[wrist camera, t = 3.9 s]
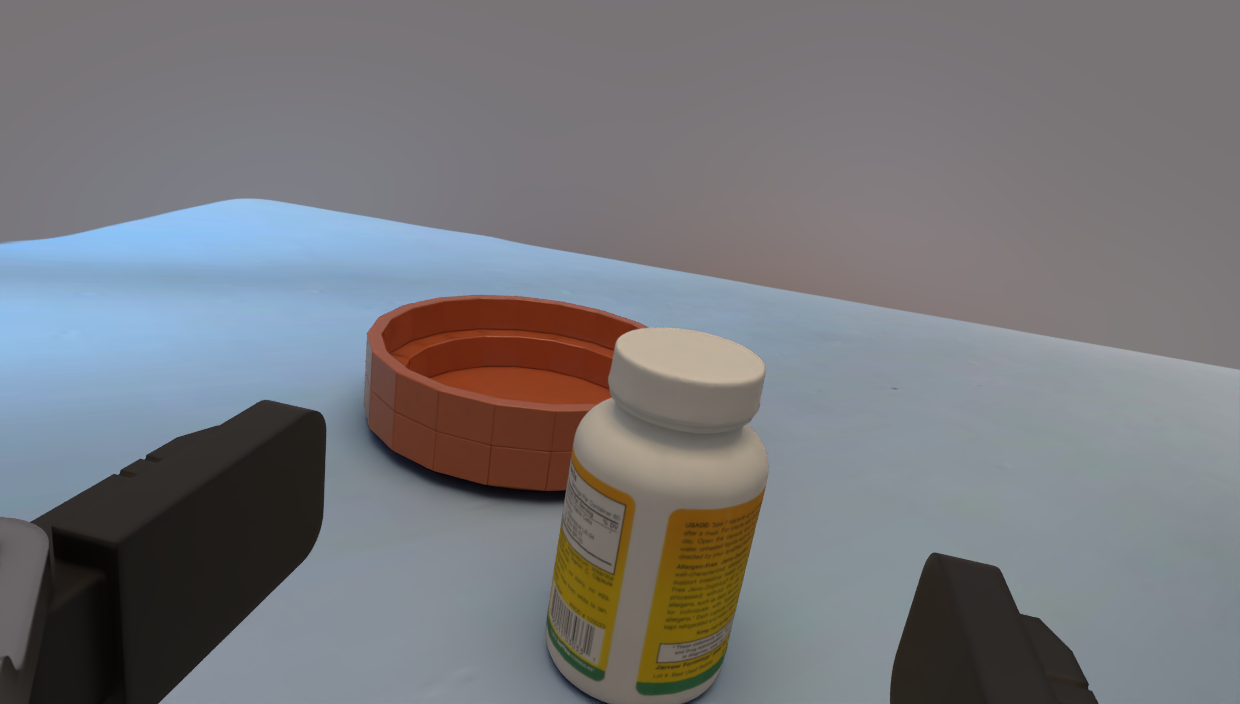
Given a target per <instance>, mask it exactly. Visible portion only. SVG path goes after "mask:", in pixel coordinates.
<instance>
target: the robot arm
mask: <svg viewBox="0 0 1240 704" xmlns="http://www.w3.org/2000/svg"><path fill="white" fill-rule="evenodd" d="M325 454H326V423H325V420H324V417H323V415H322V414H321V413H320V412H318V411H314V410H310V409H305V408H301V407H297V406H292V405H288V404H283V403H279V402H275V401H270V400H262V401H260V402H258V403H256V404H255V405H253V406H251V407H250V408H248V409H246V410H245V411H243V412H241V413H240V414H238V415H236V416H235V417H233V418H231V419H230V420H228V421H226V422H225V423H223V424H221V425H219V426H214V427H211V428H208V429H204V430H201V431H197V432H194V433H191V434H187V435H184V436H180V437H177V438H175V439H174V440H172V441H170V442H169V443H167V444H165V445H163V446H162V447H160V448H158V449H156V450H155V451H153V452H151V453H149V454H148V455H146V459H145V460H143V459H139V460H137V461H136V462H134V463H132V464H130V465H129V466H127V467H125V468H123V469H122V470H121V471H120V474H119V475H116V474H113V475H111V476H110V477H108V478H106V479H104V480H103V481H101V482H99V483H97V484H96V485H94V486H92V487H90V488H89V489H87V490H85V491H84V492H82V493H80V494H78V495H77V496H75V497H73V498H71V499H70V500H68V501H66V502H64V503H63V504H61V505H59V506H57V507H56V508H54V509H52V510H51V511H49V512H47V513H45V514H44V515H42V516H40V517H38V518H37V519H35V520H33V521H31V522H27V521H24V520H19V519H14V518H5V517H0V704H158V703H159V702H160V701H161V700H162V699H163V698H164V697H165V696H166V695H167V694H169V693H170V692H171V691H172V690H173V689H174V688H175V687H176V686H177V685H178V684H179V683H180V682H181V681H182V680H183V679H184V678H185V677H186V676H187V675H188V674H189V673H190V672H191V671H192V670H193V669H194V668H195V667H196V666H197V665H198V664H199V663H200V662H201V661H202V660H203V659H204V658H205V657H206V656H207V655H208V654H209V653H210V652H211V651H212V650H213V649H214V648H215V647H216V646H217V645H218V644H219V643H220V642H221V641H222V640H223V639H225V638H226V637H227V636H228V635H229V634H230V633H231V632H232V631H233V630H234V629H235V628H236V627H237V626H238V625H239V624H240V623H241V622H242V621H243V620H244V619H245V618H246V617H247V616H248V615H249V614H250V613H251V612H252V611H253V610H254V609H255V608H256V607H257V606H258V605H259V604H260V603H261V602H262V601H263V600H264V599H265V598H266V597H267V596H268V595H269V594H270V593H271V592H272V591H273V590H274V589H275V588H276V587H277V586H278V585H279V584H280V583H282V582H283V581H284V580H285V579H286V578H287V577H288V576H289V575H290V574H291V573H292V572H293V571H294V570H295V569H296V568H297V567H298V566H299V565H300V564H301V563H302V562H303V561H304V560H305V559H306V557H307V556H308V555H309V553H310V552H311V550H312V548H313V547H314V544H315V542H316V540H317V538H318V535H319V532H320V529H321V525H322V520H323V509H324V482H325ZM1088 685H1089V684H1088V682H1087V680H1086V678H1085V676H1084V674H1083V672H1082V670H1081V668H1080V666H1079V664H1078V662H1077V660H1076V658H1075V656H1074V654H1073V652H1072V651H1071V650H1070V649H1069V648H1068V647H1067V646H1066V645H1065V644H1064V643H1063V642H1062V641H1061V640H1060V639H1059V638H1058V637H1057V636H1056V635H1055V634H1054V633H1053V632H1052V631H1051V630H1050V629H1049V628H1048V627H1047V626H1046V625H1045V624H1044V623H1043V622H1042V621H1041V620H1040V619H1039V618H1036V617H1031V616H1027V615H1023V614H1020V613H1019V611H1018V609H1017V606H1016V604H1015V602H1014V600H1013V597H1012V595H1011V593H1010V590H1009V588H1008V586H1007V584H1006V581H1005V579H1004V577H1003V575H1002V573H1001V571H1000V569H999V568H998V567H996V566H992V565H988V564H983V563H979V562H975V561H970V560H966V559H961V558H957V557H953V556H948V555H944V554H939V553H932V554H931V555H930V556H929V557H928V559H927V561H926V563H925V565H924V568H923V571H922V574H921V577H920V580H919V583H918V586H917V589H916V593H915V596H914V599H913V602H912V605H911V608H910V612H909V615H908V618H907V621H906V624H905V627H904V631H903V634H902V637H901V640H900V643H899V647H898V650H897V653H896V656H895V660H894V665H893V670H892V677H891V687H890V704H1098V702H1097V700H1096V698H1095V696H1094V694H1093V692H1092V691H1090V690H1088Z"/></svg>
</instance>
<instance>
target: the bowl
mask: <svg viewBox="0 0 1240 704" xmlns="http://www.w3.org/2000/svg"><path fill="white" fill-rule="evenodd" d="M642 328H649V327H647V326H645V325H643V324H641V323H639V322H636V321H633V320H630V319H627V318H624V317H621V316H618V315H615V314H612V313H609V312H606V311H601V310H598V309H594V308H589V307H585V306H580V305H576V304H571V303H566V302H561V301H554V300H546V299H538V298H530V297H521V296H520V297H519V296H497V295H469V296H455V297H441V298H434V299H430V300H425V301H420V302H416V303H411V304H407V305H403V306H401V307H399V308H397V309H395V310H392V311H390V312H388V313H386V314H384V315H382V316H380V317H378V319H377V320H376V321H375V323H374V324H373V326H372V327H371V328H370V330H369V331H368V333H367V345H366V367H365V369H366V371H365V390H364V408H365V412H366V417H367V421H368V426H369V428H370V429H371V430H372V431H373V432H374V433H375V434H376V435H377V436H378V437H379V438H380V439H381V440H382V441H383V442H384V443H385V444H386V445H387V446H388V447H389V448H390V449H391V450H393V451H394V452H396V453H398V454H400V455H402V456H404V457H406V458H408V459H410V460H412V461H414V462H416V463H418V464H420V465H422V466H424V467H426V468H428V469H430V470H432V471H435V472H439V473H443V474H447V475H450V476H454V477H458V478H461V479H465V480H469V481H472V482H476V483H480V484H484V485H490V486H496V487H503V488H510V489H519V490H532V491H560V490H566V488H567V481H568V475H569V468H570V462H571V455H572V448H573V442H574V437H575V433H576V431H577V428H578V426H579V424H580V422H581V420H582V419H583V417H584V416H585V415H586V414H587V413H588V412H589V411H590V410H591V409H592V408H593V407H595V406H596V405H598V404H599V403H601V402H603V401H605V400H607V399H609V398H612V396H611V394H610V390H609V387H610V386H609V383H608V376H609V374H610V370H611V365H612V360H613V354H614V349H615V344H616V341H617V339H618V338H619V337H620V336H621V335H623V334H625V333H627V332H630V331H632V330H637V329H642Z"/></svg>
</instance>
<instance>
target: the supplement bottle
mask: <svg viewBox="0 0 1240 704" xmlns="http://www.w3.org/2000/svg"><path fill="white" fill-rule="evenodd" d="M765 371H766V369H765V365H764V363H763V361H762V360H761V359H760V358H759V357H758V356H757V355H756V354H755V353H754V352H752V351H751V350H749V349H747V348H746V347H744V346H742V345H740V344H737V343H735V342H733V341H730V340H727V339H724V338H721V337H718V336H714V335H711V334H707V333H703V332H698V331H692V330H686V329H677V328H642V329H637V330H632V331H630V332H627V333H625V334H623V335H621V336H620V337H619V338H618V339H617V341H616V344H615V349H614V354H613V360H612V365H611V370H610V374H609V376H608V383H609V386H610V387H609V390H610V394H611V396H612V398H609V399H607V400H605V401H603V402H601V403H599V404H598V405H596V406H595V407H593V408H592V409H591V410H590V411H589V412H588V413H587V414H586V415H585V416H584V417H583V419H582V420H581V422H580V424H579V426H578V428H577V431H576V433H575V437H574V442H573V448H572V455H571V462H570V468H569V475H568V481H567V488H566V494H565V501H564V508H563V515H562V521H561V528H560V535H559V541H558V547H557V555H556V561H555V567H554V575H553V581H552V588H551V594H550V601H549V607H548V615H547V623H546V641H547V645H548V649H549V652H550V655H551V657H552V659H553V661H554V663H555V665H556V666H557V668H558V669H559V670H560V672H561V673H562V674H563V675H564V676H565V677H566V678H567V679H568V680H569V681H570V682H571V683H572V684H573V685H575V686H576V687H577V688H579V689H580V690H582V691H583V692H585V693H587V694H588V695H590V696H592V697H594V698H596V699H598V700H601V701H603V702H606V703H608V704H682V703H685V702H688V701H690V700H692V699H694V698H696V697H698V696H699V695H701V694H702V693H703V692H705V691H706V690H707V689H708V688H709V687H710V686H711V685H712V684H713V682H714V681H715V679H716V678H717V676H718V674H719V672H720V670H721V667H722V664H723V660H724V656H725V653H726V650H727V645H728V640H729V636H730V632H731V628H732V623H733V619H734V615H735V611H736V607H737V603H738V598H739V594H740V590H741V586H742V582H743V577H744V573H745V569H746V565H747V561H748V557H749V553H750V549H751V544H752V540H753V536H754V532H755V527H756V524H757V520H758V516H759V512H760V508H761V504H762V500H763V496H764V492H765V488H766V482H767V477H768V458H767V453H766V450H765V448H764V445H763V443H762V441H761V440H760V438H759V437H758V435H757V434H756V433H755V431H754V430H753V429H752V428H751V427H750V426H749V425H748V423H749V422H750V421H751V419H752V418H753V416H754V415H755V414H756V413H757V411H758V410H759V407H760V399H761V393H762V388H763V383H764V378H765Z"/></svg>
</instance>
